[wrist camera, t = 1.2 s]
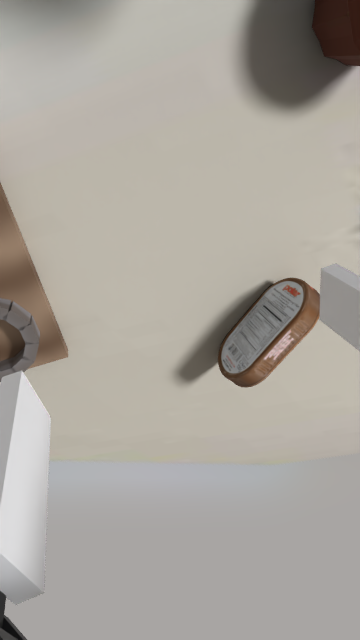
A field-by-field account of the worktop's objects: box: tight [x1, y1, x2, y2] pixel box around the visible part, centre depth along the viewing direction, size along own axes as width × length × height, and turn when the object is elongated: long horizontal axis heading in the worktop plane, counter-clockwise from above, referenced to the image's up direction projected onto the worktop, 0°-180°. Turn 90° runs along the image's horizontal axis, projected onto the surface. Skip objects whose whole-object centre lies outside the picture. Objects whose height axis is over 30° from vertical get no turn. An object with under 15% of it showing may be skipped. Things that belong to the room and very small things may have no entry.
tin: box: [218, 278, 320, 387], centre depth 42 cm, size 15×3×8 cm, turn 140°
